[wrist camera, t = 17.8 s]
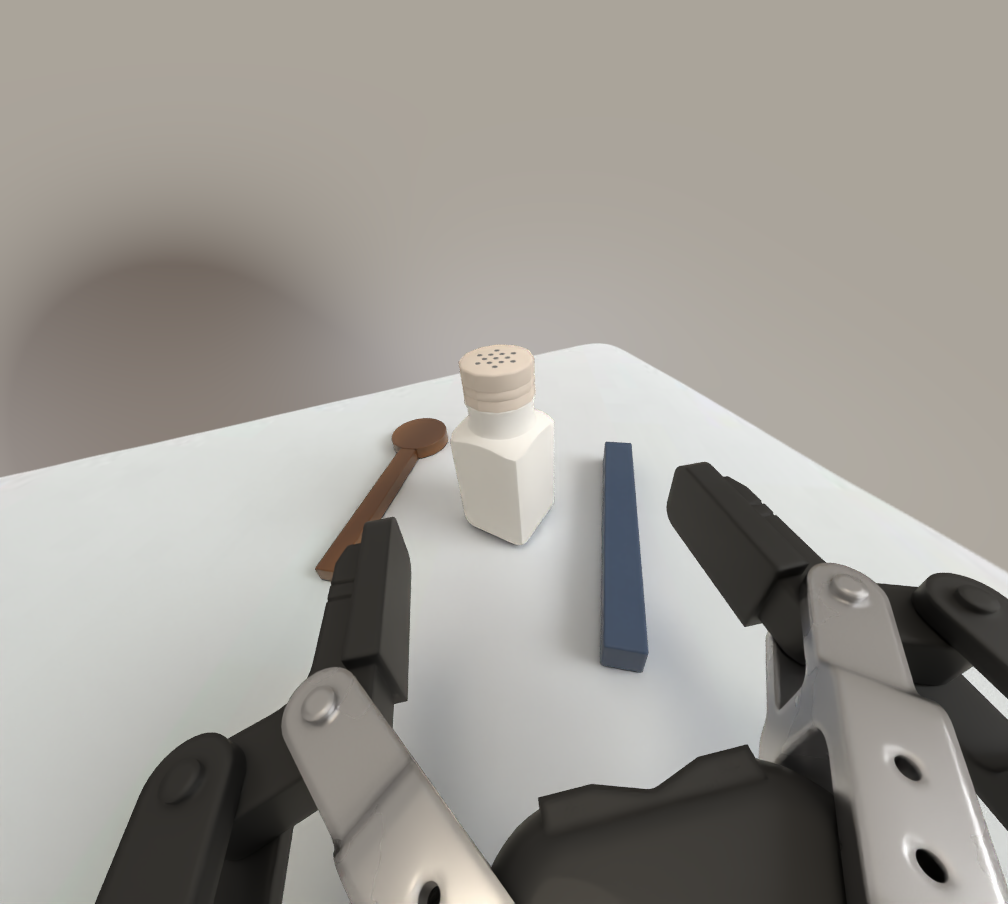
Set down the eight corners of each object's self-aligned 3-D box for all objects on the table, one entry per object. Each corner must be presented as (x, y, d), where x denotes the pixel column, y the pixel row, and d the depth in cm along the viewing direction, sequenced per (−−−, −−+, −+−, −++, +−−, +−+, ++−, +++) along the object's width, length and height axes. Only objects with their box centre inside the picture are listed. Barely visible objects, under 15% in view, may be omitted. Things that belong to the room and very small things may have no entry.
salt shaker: (558, 504, 22) (559, 347, 16) (524, 553, 19) (511, 387, 14) (500, 483, 24) (484, 335, 18) (462, 525, 21) (429, 369, 16)
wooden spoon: (297, 575, 19) (289, 565, 19) (407, 426, 30) (405, 416, 30) (366, 586, 19) (360, 576, 18) (455, 428, 29) (453, 419, 29)
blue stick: (600, 666, 15) (602, 646, 14) (603, 460, 25) (605, 441, 24) (642, 673, 14) (649, 654, 14) (628, 462, 24) (631, 442, 24)
